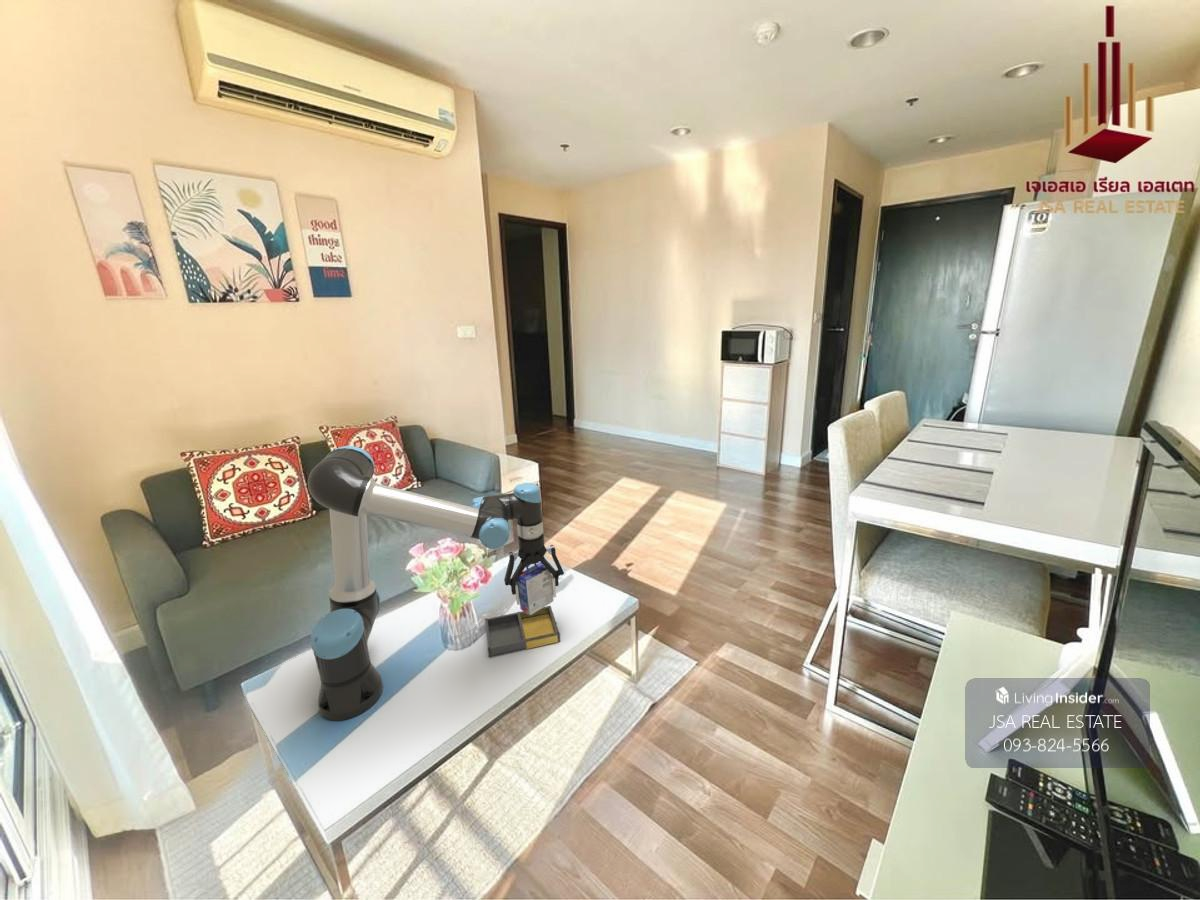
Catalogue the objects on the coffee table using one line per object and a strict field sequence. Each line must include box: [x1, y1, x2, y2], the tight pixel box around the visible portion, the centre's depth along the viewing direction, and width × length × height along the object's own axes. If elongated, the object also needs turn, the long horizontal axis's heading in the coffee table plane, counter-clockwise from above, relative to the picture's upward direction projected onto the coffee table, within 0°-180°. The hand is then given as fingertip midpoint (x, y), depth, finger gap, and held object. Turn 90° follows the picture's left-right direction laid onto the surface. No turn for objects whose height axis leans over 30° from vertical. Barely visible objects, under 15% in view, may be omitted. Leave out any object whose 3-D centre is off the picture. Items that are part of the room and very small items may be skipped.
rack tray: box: [484, 605, 561, 658], centre depth 145 cm, size 21×15×3 cm
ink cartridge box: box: [517, 562, 554, 615], centre depth 142 cm, size 10×6×14 cm, turn 136°
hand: (536, 598), depth 143 cm, fingers closed on ink cartridge box, 11 cm apart
